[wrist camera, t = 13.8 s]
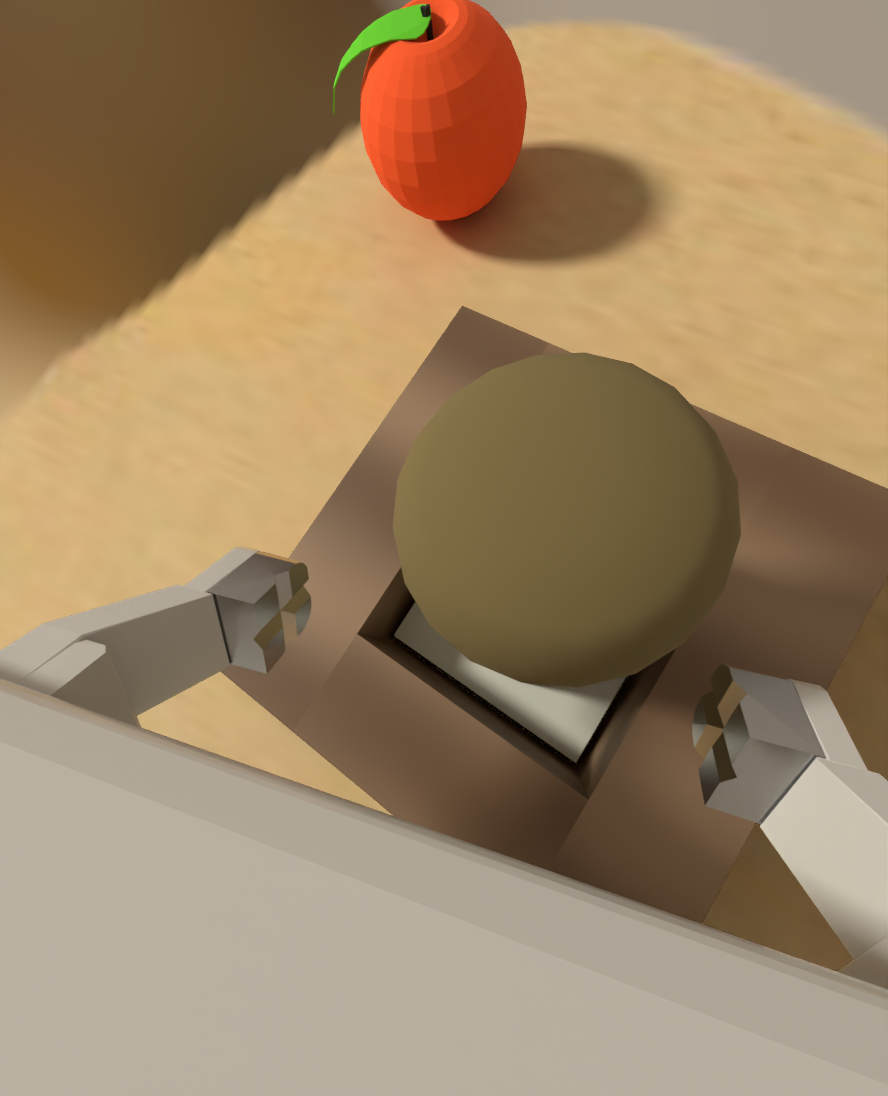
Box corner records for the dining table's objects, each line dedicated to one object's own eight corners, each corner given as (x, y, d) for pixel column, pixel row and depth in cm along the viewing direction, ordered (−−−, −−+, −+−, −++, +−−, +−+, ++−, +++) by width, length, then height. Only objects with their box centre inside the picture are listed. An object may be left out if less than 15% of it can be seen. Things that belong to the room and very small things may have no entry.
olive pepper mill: (666, 563, 16) (919, 374, 5) (580, 722, 15) (682, 853, 5) (509, 486, 18) (474, 228, 7) (426, 626, 17) (253, 569, 6)
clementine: (363, 268, 23) (293, 105, 16) (372, 157, 25) (311, -33, 18) (528, 247, 22) (526, 58, 15) (527, 131, 23) (524, -88, 16)
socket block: (617, 933, 15) (646, 1026, 11) (277, 665, 19) (214, 666, 15) (834, 541, 16) (925, 505, 13) (475, 371, 21) (462, 305, 17)
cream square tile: (573, 756, 16) (575, 763, 15) (400, 636, 18) (393, 635, 17) (680, 574, 17) (689, 569, 16) (502, 479, 19) (501, 469, 18)
